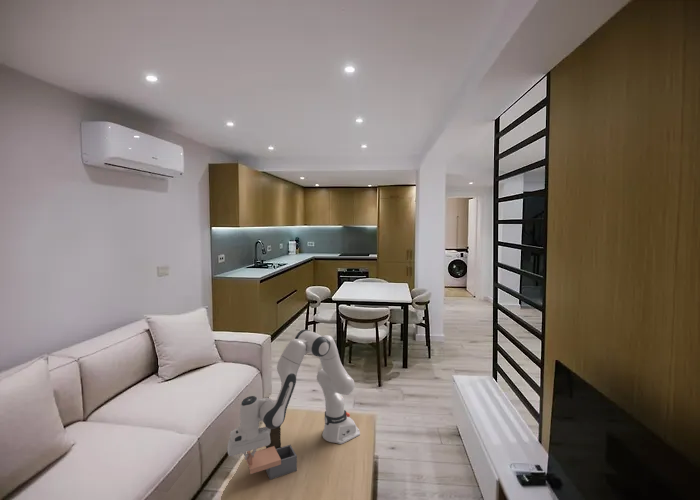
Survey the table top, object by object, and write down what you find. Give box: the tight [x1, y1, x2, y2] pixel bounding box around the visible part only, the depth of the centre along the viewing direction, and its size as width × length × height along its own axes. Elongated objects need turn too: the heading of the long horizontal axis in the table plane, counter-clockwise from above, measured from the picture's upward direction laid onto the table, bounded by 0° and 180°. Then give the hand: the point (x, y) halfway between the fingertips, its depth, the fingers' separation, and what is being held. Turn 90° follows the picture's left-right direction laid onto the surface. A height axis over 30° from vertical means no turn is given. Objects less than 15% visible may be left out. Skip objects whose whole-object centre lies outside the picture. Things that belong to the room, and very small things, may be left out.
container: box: [264, 424, 282, 449], centre depth 192 cm, size 9×9×18 cm
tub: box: [264, 444, 298, 481], centre depth 181 cm, size 14×10×8 cm
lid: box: [245, 446, 281, 475], centre depth 177 cm, size 15×12×6 cm
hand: (249, 457), depth 173 cm, fingers closed on lid
